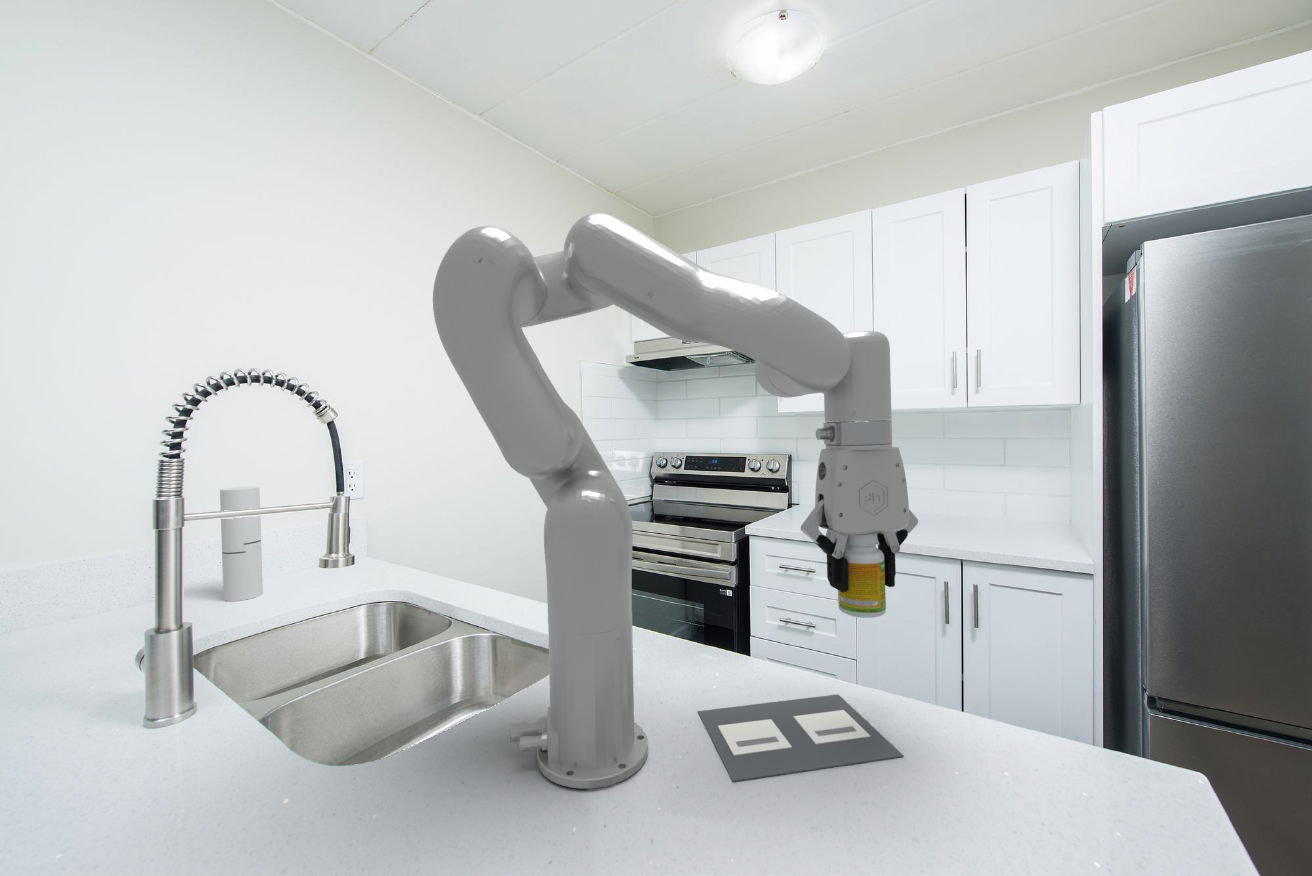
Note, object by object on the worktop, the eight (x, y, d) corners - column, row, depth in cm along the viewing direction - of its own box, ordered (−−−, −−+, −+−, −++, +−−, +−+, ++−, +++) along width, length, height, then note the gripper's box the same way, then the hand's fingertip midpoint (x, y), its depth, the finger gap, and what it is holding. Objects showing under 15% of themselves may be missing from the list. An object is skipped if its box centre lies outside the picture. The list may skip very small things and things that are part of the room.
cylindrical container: (268, 594, 124) (265, 487, 123) (231, 603, 118) (227, 490, 117) (254, 590, 128) (251, 486, 127) (218, 598, 122) (214, 489, 121)
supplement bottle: (891, 619, 61) (888, 535, 61) (842, 618, 62) (839, 535, 62) (880, 604, 67) (878, 527, 67) (835, 603, 68) (833, 527, 68)
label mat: (732, 782, 56) (732, 779, 56) (697, 712, 70) (697, 710, 70) (903, 757, 60) (903, 754, 60) (838, 695, 73) (838, 693, 73)
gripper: (806, 440, 59) (811, 603, 59) (942, 434, 62) (946, 588, 62) (778, 438, 66) (782, 584, 66) (901, 433, 69) (904, 572, 70)
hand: (861, 584), depth 64 cm, fingers closed on supplement bottle, 5 cm apart
